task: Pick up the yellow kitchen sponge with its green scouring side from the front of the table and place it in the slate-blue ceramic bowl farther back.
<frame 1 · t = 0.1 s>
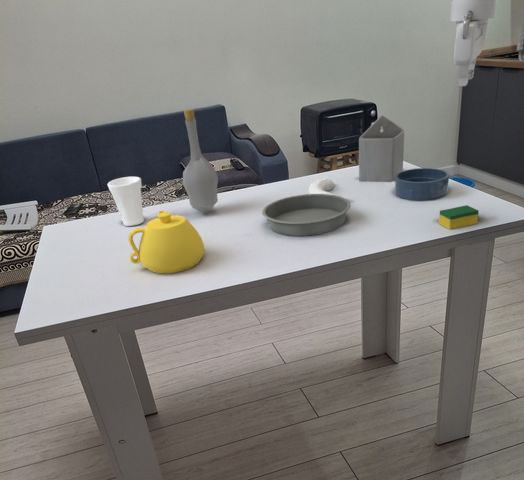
hand: (465, 82, 121), 33 cm above the table, tool pointing down, fingers open, 8 cm apart
cake pan: (306, 223, 152), on the table
bowl: (420, 193, 163), on the table
white rounded piece: (332, 197, 169), on the table
teapot: (169, 261, 139), on the table
sponge: (457, 223, 139), on the table
planter: (386, 179, 179), on the table
bottle: (205, 213, 168), on the table
cup: (134, 224, 167), on the table
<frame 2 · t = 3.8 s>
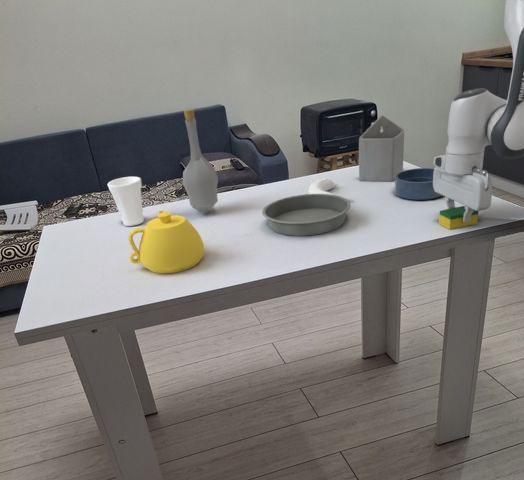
hand: (458, 217, 139), 2 cm above the table, tool pointing down, fingers closed on sponge, 5 cm apart
sponge: (457, 223, 139), on the table, touching gripper
everything else where it was.
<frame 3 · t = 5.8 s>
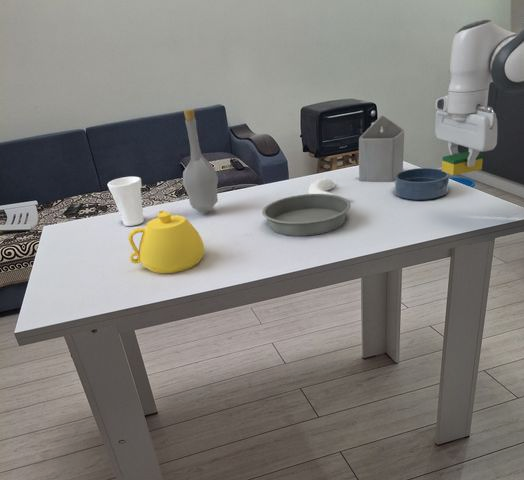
hand: (462, 163, 132), 15 cm above the table, tool pointing down, fingers closed on sponge, 5 cm apart
sponge: (461, 170, 133), point 13 cm above the table, touching gripper
everything else where it was.
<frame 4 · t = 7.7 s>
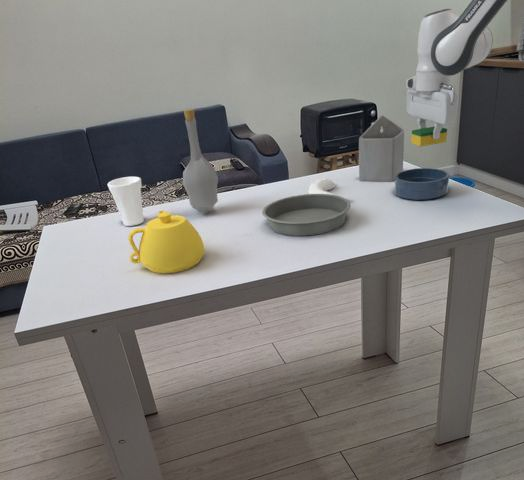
hand: (428, 136, 150), 17 cm above the table, tool pointing down, fingers closed on sponge, 5 cm apart
sponge: (428, 142, 151), point 16 cm above the table, touching gripper
everything else where it was.
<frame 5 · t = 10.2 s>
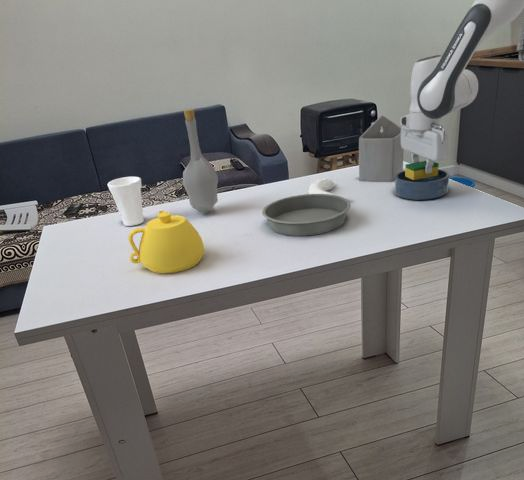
hand: (421, 170, 159), 7 cm above the table, tool pointing down, fingers closed on sponge, 5 cm apart
sponge: (421, 176, 160), point 5 cm above the table, touching gripper
everything else where it was.
when the fingers open (2 cm above the table, at t = 11.9 s): sponge stays where it is, resting on bowl.
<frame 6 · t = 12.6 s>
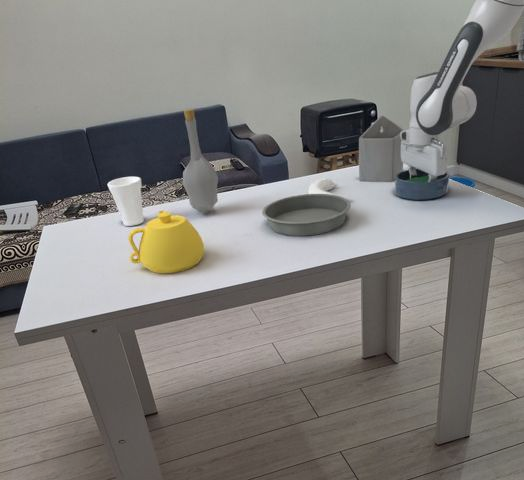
hand: (421, 184, 161), 3 cm above the table, tool pointing down, fingers open, 8 cm apart
sponge: (420, 191, 162), point 1 cm above the table, touching bowl
everything else where it was.
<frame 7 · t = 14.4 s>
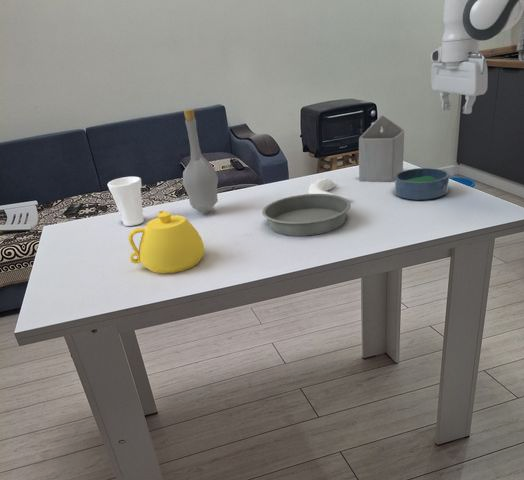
hand: (456, 111, 142), 24 cm above the table, tool pointing down, fingers open, 8 cm apart
nothing on the table moved.
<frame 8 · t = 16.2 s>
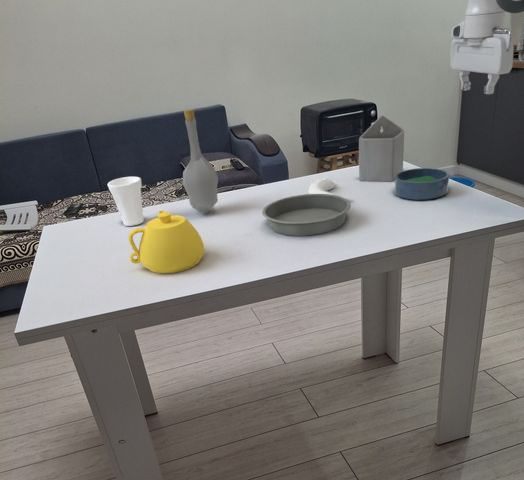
hand: (476, 91, 134), 29 cm above the table, tool pointing down, fingers open, 8 cm apart
nothing on the table moved.
at the end: sponge inside the target area in the bowl (0.1 cm from its centre), point 0.6 cm above the bowl's base; the gripper is holding nothing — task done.
